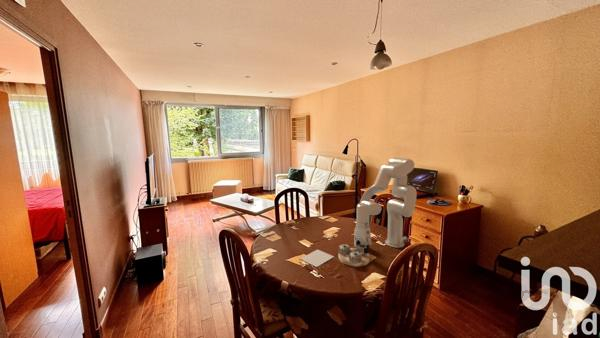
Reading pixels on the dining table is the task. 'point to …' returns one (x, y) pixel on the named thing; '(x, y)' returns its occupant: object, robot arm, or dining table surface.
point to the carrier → (352, 256)
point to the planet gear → (360, 248)
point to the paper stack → (316, 258)
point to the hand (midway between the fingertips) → (362, 250)
